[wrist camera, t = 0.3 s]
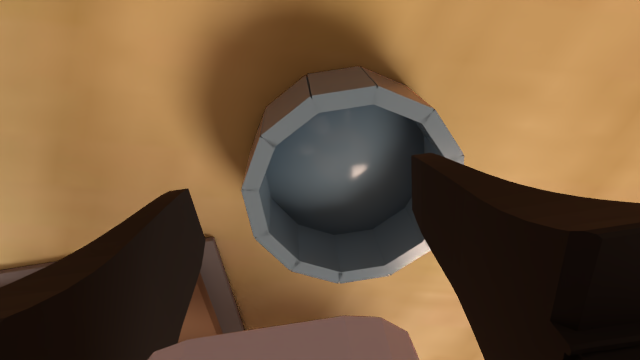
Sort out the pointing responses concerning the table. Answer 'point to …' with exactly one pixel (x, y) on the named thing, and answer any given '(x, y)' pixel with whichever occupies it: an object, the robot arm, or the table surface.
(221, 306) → the mat
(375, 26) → the table surface
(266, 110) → the bowl
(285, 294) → the table surface
